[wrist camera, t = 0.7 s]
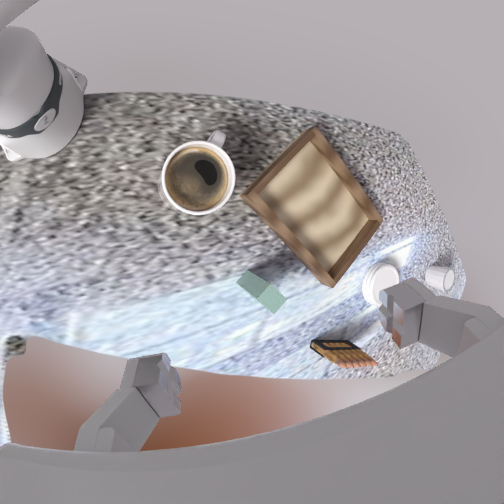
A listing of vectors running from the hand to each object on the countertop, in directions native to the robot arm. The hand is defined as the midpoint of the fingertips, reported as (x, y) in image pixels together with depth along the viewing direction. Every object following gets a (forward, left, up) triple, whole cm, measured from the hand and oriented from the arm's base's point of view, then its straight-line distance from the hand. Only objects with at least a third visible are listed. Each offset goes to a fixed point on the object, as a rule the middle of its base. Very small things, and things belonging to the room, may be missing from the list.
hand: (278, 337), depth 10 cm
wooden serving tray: (+16, +22, -40) cm, 49 cm away
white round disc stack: (+41, +23, -41) cm, 62 cm away
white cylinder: (+58, +39, -40) cm, 81 cm away
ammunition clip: (+41, +5, -40) cm, 58 cm away
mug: (-4, +9, -40) cm, 41 cm away
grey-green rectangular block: (+16, +3, -40) cm, 43 cm away
